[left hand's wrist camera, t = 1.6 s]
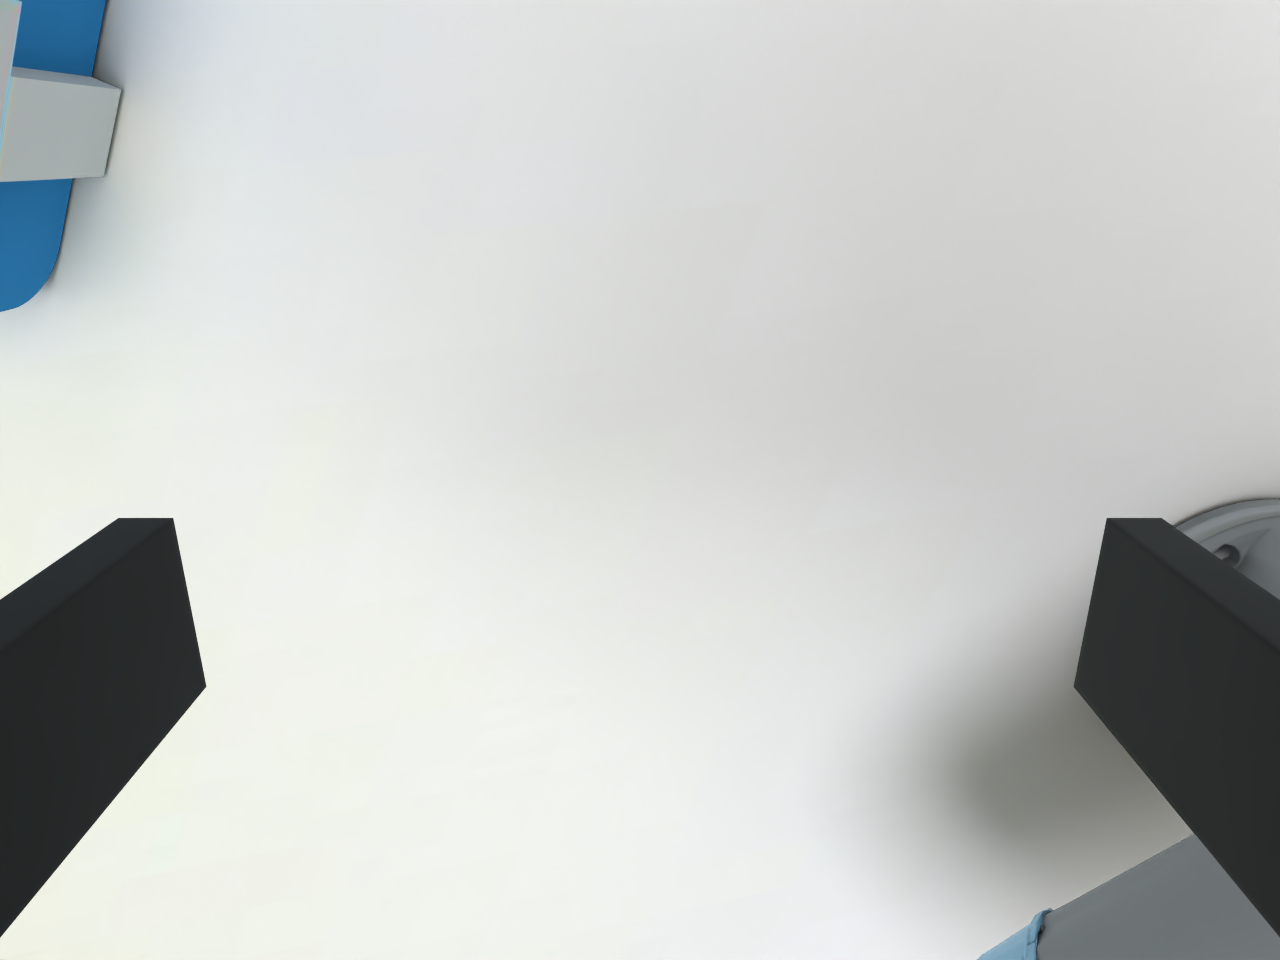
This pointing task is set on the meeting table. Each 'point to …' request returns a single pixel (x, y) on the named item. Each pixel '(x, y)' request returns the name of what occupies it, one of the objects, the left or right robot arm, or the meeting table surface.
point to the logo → (46, 131)
